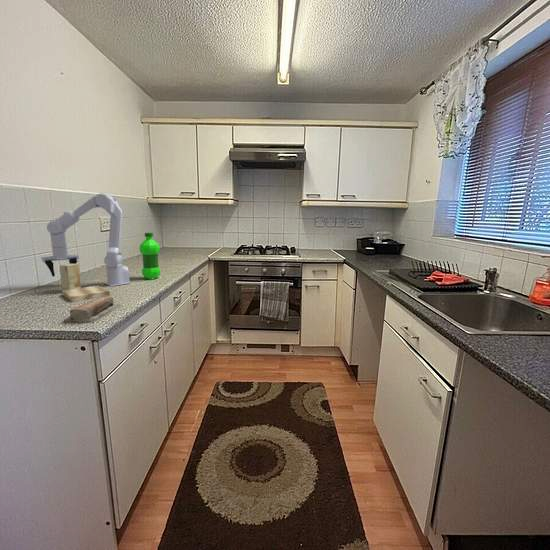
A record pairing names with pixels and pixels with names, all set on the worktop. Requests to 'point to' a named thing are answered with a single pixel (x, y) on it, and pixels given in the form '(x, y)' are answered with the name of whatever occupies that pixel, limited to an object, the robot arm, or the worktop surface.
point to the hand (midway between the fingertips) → (63, 274)
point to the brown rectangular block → (93, 310)
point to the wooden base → (85, 293)
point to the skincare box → (70, 276)
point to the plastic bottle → (150, 257)
